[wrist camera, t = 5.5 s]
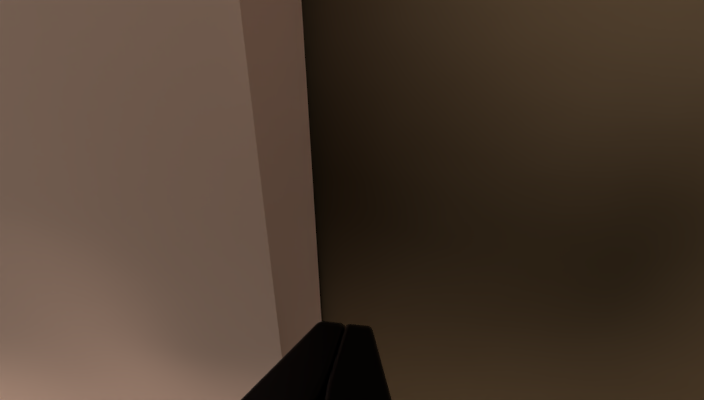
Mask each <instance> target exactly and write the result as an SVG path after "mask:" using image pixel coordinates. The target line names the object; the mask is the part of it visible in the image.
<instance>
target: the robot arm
mask: <svg viewBox="0 0 704 400" xmlns="http://www.w3.org/2000/svg"><path fill="white" fill-rule="evenodd" d="M241 400H391V396H390V393H389V389H388V385H387V382H386V378H385V374H384V370H383V367H382V363H381V359H380V356H379V352H378V348H377V344H376V341H375V337H374V333H373V330H372V328H371V327H370V326H363V325H354V324H348V325H347V326H346V327H345V326H344V325H343V324H342V323H335V322H325V321H321V322H318V323H317V324H316V325H315V326H314V327H313V328H312V329H311V330H310V331H309V332H308V333H307V334H306V335H305V336H304V337H303V338H302V339H301V340H300V341H299V342H298V343H297V344H296V345H295V346H294V347H293V348H292V349H291V350H290V351H289V352H288V353H287V354H286V355H285V356H284V357H283V358H282V359H281V360H280V361H279V362H278V363H277V364H276V365H275V366H274V367H273V368H272V369H271V370H270V371H269V372H268V373H267V374H266V375H265V376H264V377H263V378H262V379H261V380H260V381H259V382H258V383H257V384H256V385H255V386H254V387H253V388H252V389H251V390H250V391H249V392H248V393H247V394H246V395H245V396H244V397H243V398H242V399H241Z"/></svg>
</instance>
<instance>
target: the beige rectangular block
mask: <svg viewBox="0 0 704 400" xmlns="http://www.w3.org/2000/svg"><path fill="white" fill-rule="evenodd" d="M321 321H322V320H321V304H320V288H319V273H318V257H317V241H316V225H315V209H314V193H313V177H312V161H311V145H310V129H309V113H308V97H307V82H306V66H305V50H304V34H303V18H302V2H301V0H0V400H241V399H242V398H243V397H244V396H245V395H246V394H247V393H248V392H249V391H250V390H251V389H252V388H253V387H254V386H255V385H256V384H257V383H258V382H259V381H260V380H261V379H262V378H263V377H264V376H265V375H266V374H267V373H268V372H269V371H270V370H271V369H272V368H273V367H274V366H275V365H276V364H277V363H278V362H279V361H280V360H281V359H282V358H283V357H284V356H285V355H286V354H287V353H288V352H289V351H290V350H291V349H292V348H293V347H294V346H295V345H296V344H297V343H298V342H299V341H300V340H301V339H302V338H303V337H304V336H305V335H306V334H307V333H308V332H309V331H310V330H311V329H312V328H313V327H314V326H315V325H316V324H317V323H318V322H321Z"/></svg>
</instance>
